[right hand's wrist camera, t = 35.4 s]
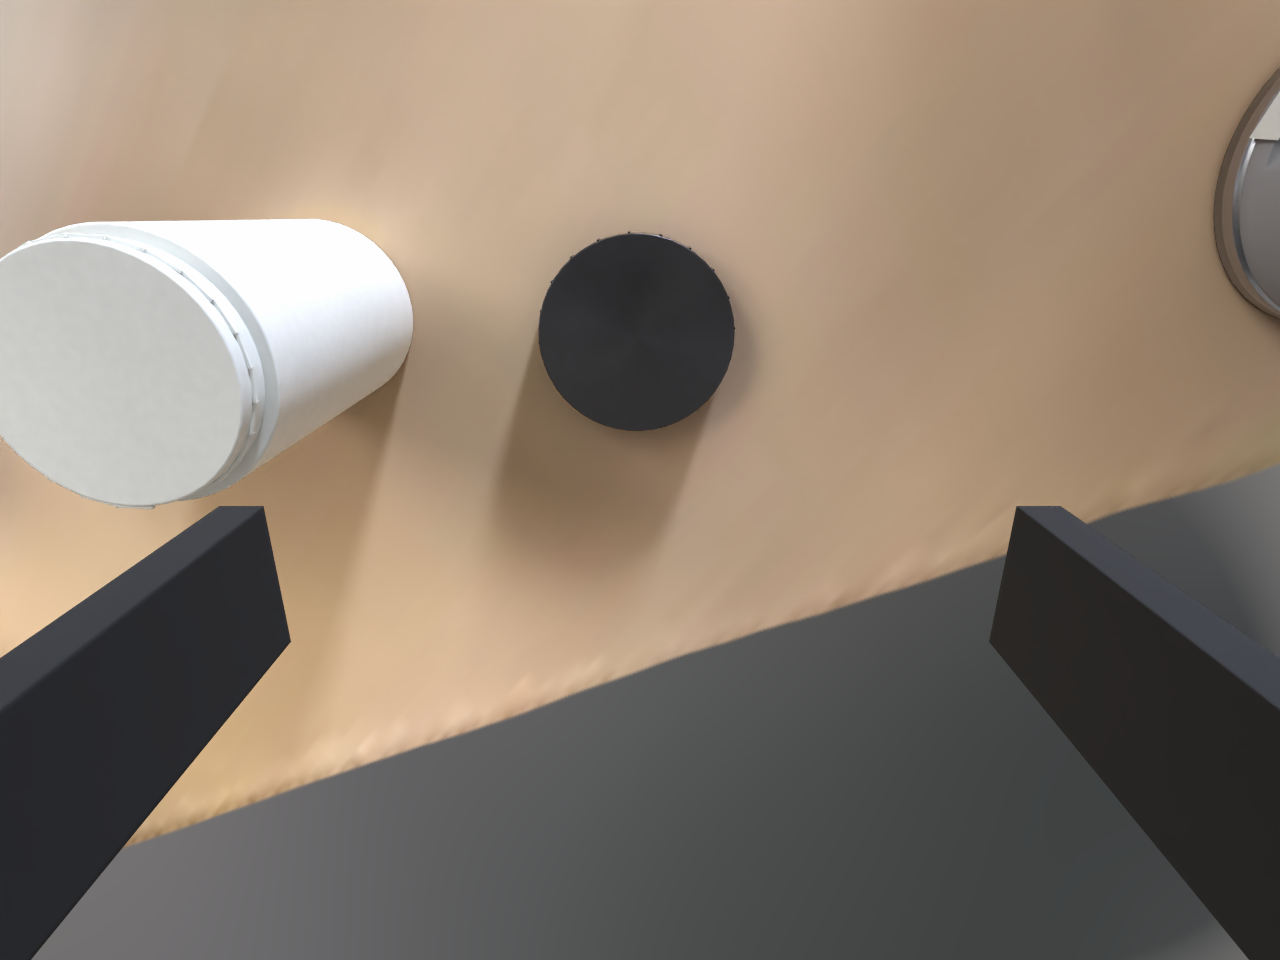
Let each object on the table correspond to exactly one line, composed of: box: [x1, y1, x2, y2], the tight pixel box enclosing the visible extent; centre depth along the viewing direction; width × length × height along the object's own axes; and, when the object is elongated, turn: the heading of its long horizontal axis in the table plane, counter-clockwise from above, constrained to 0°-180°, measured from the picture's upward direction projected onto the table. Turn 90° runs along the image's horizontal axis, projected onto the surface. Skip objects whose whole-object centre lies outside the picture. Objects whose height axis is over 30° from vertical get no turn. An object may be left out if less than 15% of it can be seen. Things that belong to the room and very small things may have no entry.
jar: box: [0, 219, 413, 509], centre depth 30 cm, size 10×10×17 cm
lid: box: [539, 231, 735, 431], centre depth 38 cm, size 10×10×2 cm
